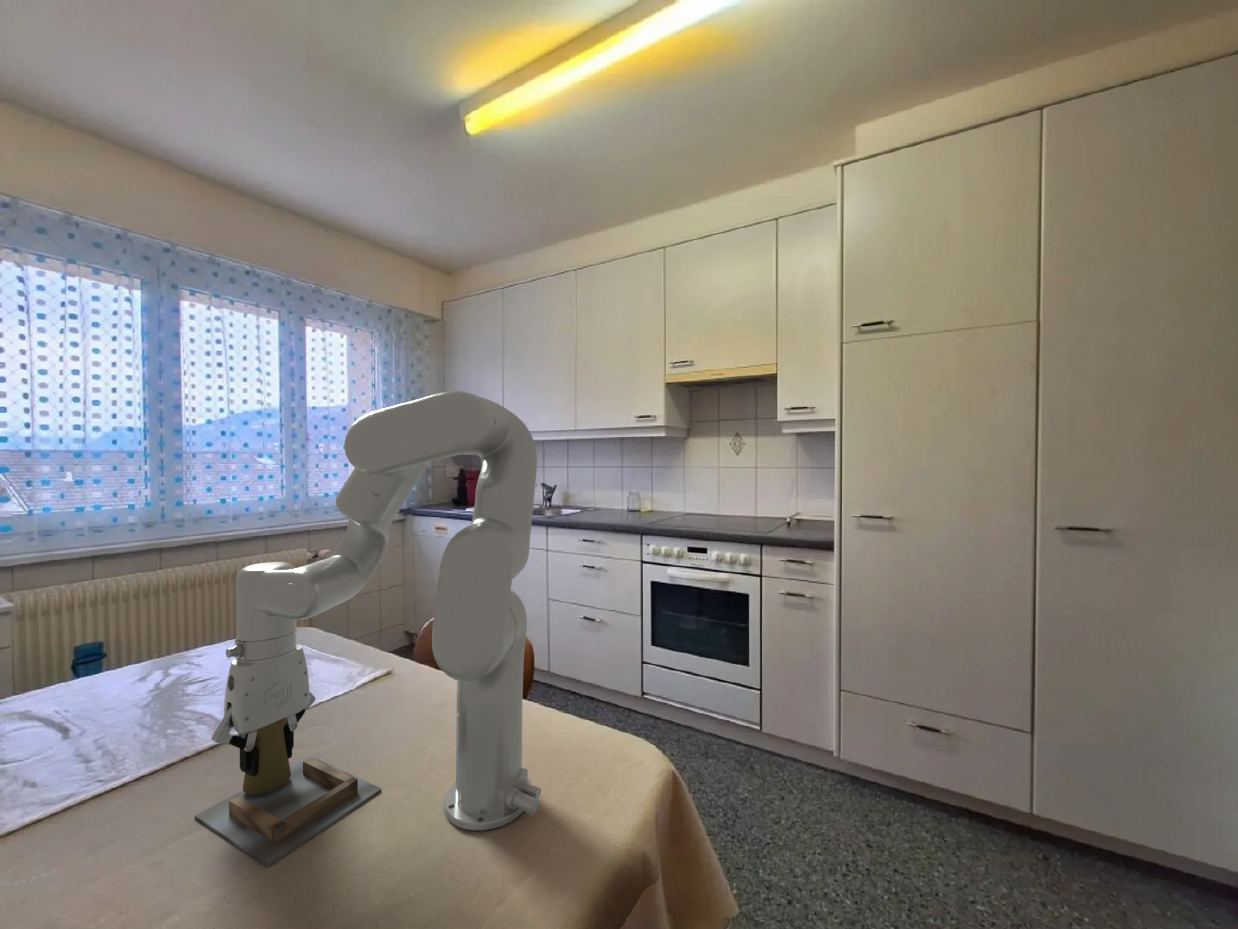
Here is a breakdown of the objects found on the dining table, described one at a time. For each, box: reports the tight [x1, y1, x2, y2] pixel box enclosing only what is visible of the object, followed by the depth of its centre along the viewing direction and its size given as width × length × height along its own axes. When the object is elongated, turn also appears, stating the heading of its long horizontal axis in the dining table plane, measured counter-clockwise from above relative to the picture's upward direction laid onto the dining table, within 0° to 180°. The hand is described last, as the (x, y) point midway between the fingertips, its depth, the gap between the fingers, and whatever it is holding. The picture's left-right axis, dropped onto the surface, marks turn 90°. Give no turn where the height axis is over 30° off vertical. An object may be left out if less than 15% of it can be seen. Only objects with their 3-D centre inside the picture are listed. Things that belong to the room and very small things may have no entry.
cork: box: [242, 717, 291, 794], centre depth 76 cm, size 6×6×11 cm
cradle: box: [194, 755, 382, 868], centre depth 73 cm, size 18×16×2 cm
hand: (267, 763), depth 76 cm, fingers closed on cork, 4 cm apart
